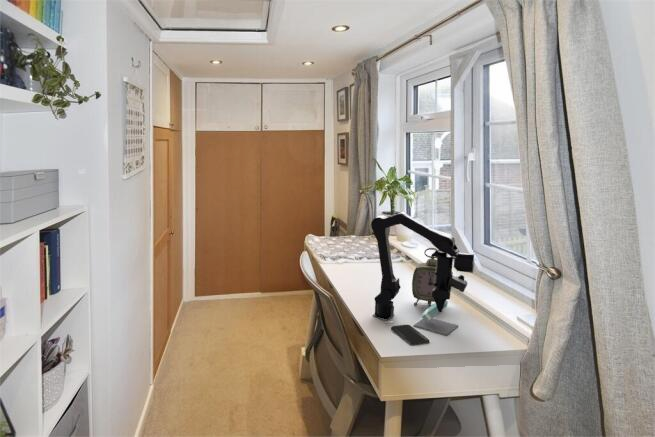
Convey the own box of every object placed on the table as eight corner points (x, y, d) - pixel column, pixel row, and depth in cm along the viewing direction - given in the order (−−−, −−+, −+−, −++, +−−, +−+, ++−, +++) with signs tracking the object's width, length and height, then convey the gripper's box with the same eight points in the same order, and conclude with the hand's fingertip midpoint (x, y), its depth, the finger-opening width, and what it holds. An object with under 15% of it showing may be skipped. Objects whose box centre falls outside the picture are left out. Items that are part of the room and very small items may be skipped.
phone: (408, 324, 169) (430, 340, 155) (408, 327, 169) (430, 344, 155) (389, 326, 166) (410, 343, 152) (389, 329, 166) (410, 346, 153)
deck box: (421, 316, 169) (442, 301, 166) (423, 312, 174) (443, 296, 170) (426, 322, 169) (447, 306, 165) (427, 317, 173) (447, 302, 170)
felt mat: (413, 326, 169) (413, 325, 169) (425, 317, 178) (425, 316, 178) (447, 335, 162) (447, 334, 161) (458, 326, 170) (458, 325, 170)
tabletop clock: (410, 307, 189) (414, 248, 185) (412, 300, 198) (416, 244, 194) (446, 312, 185) (451, 252, 181) (447, 304, 193) (451, 247, 189)
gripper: (466, 278, 155) (462, 322, 158) (467, 265, 173) (463, 304, 175) (433, 274, 158) (429, 317, 161) (437, 262, 176) (434, 300, 179)
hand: (440, 309), depth 169 cm, fingers closed on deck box, 5 cm apart
